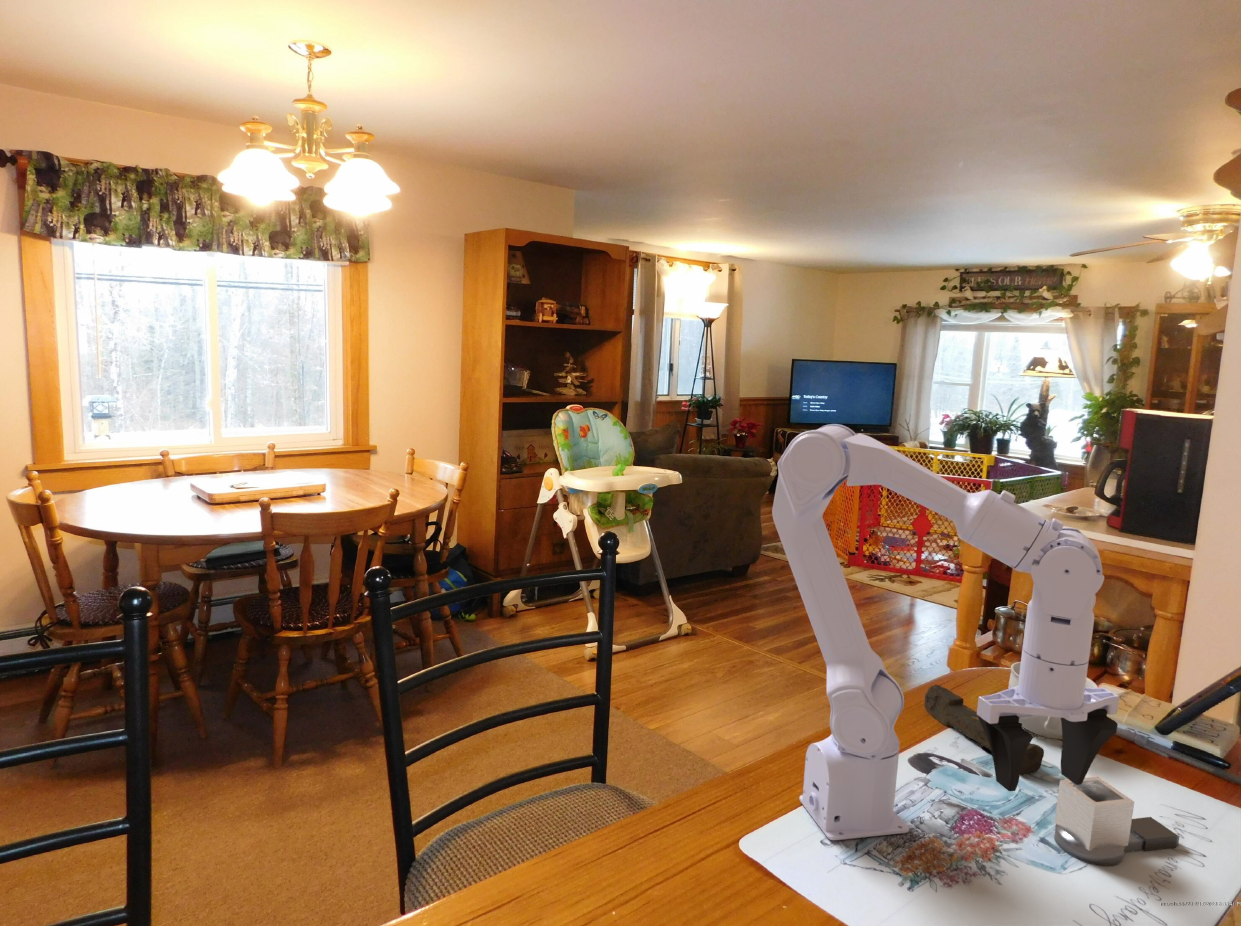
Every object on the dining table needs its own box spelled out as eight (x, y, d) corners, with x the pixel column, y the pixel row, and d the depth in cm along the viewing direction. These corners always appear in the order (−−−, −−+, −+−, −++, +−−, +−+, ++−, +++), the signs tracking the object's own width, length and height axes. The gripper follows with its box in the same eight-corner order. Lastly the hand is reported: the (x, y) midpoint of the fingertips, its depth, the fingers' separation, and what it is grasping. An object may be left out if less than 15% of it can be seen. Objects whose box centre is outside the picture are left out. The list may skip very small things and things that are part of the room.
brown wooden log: (1044, 774, 100) (1048, 740, 99) (1019, 779, 98) (1023, 744, 98) (939, 707, 117) (942, 678, 117) (917, 710, 116) (920, 680, 115)
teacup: (1012, 704, 119) (1018, 653, 117) (1095, 726, 112) (1103, 673, 111) (992, 740, 107) (999, 684, 106) (1084, 767, 101) (1092, 708, 100)
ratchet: (1085, 869, 81) (1091, 828, 80) (1040, 832, 87) (1045, 793, 87) (1192, 856, 84) (1198, 816, 83) (1141, 820, 90) (1146, 783, 89)
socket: (1088, 850, 82) (1095, 806, 81) (1054, 822, 86) (1060, 780, 86) (1127, 845, 83) (1134, 801, 82) (1091, 818, 87) (1097, 776, 87)
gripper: (1018, 674, 72) (1002, 812, 74) (1152, 666, 75) (1132, 798, 77) (969, 645, 79) (955, 771, 81) (1093, 638, 82) (1077, 760, 84)
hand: (1038, 782), depth 80 cm, fingers open, 7 cm apart
